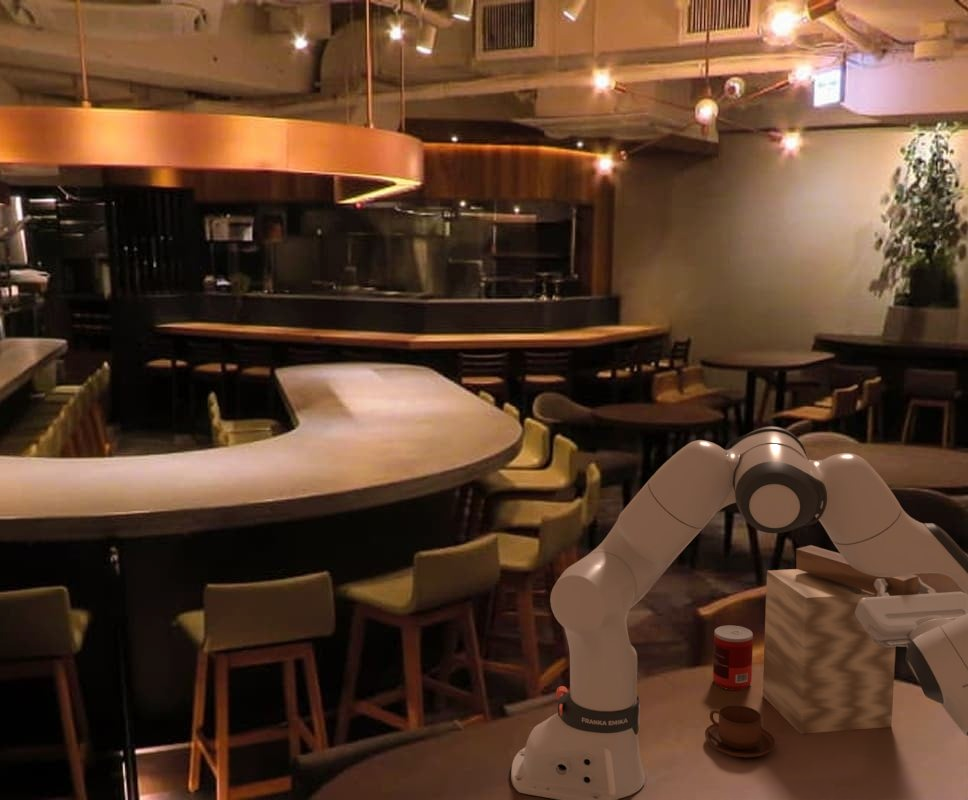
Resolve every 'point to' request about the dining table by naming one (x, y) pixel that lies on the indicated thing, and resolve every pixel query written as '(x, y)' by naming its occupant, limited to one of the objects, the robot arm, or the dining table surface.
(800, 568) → the walnut block
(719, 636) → the canned food
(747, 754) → the cup and saucer
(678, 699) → the dining table surface
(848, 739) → the dining table surface
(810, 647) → the zigzag patterned box
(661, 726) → the dining table surface
